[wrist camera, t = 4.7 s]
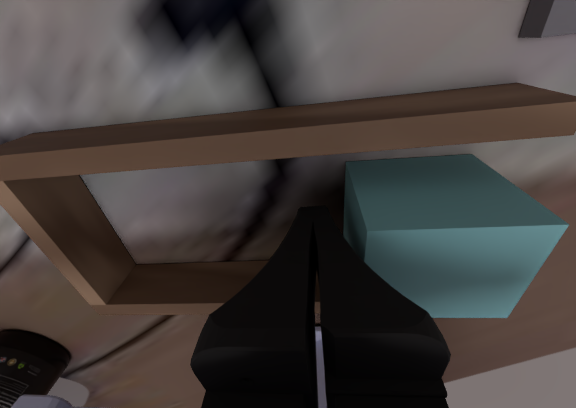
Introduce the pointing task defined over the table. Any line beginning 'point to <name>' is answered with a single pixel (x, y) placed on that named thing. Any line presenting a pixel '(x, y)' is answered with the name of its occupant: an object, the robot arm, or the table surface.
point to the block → (447, 232)
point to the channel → (226, 149)
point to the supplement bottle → (28, 365)
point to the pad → (549, 18)
